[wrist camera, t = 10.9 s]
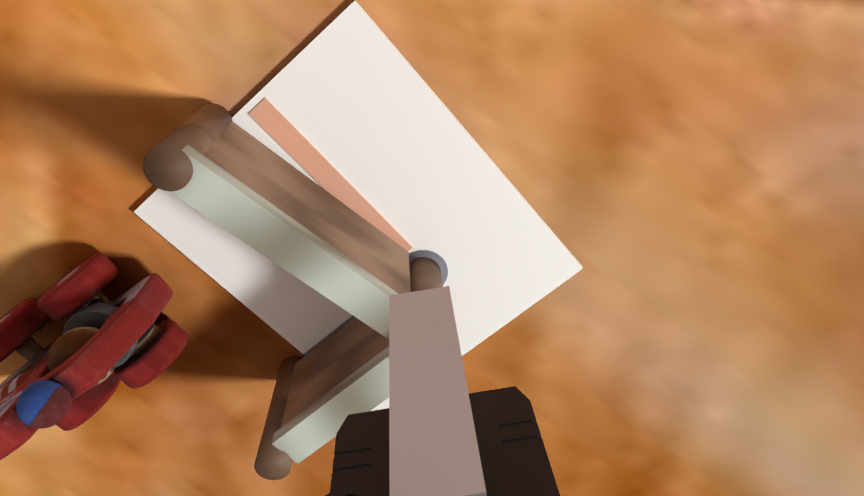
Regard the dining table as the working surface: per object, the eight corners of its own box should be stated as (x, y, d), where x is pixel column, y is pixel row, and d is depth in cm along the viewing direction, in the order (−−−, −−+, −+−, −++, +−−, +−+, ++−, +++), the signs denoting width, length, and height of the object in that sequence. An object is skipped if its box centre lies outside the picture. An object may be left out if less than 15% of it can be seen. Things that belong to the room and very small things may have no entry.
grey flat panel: (412, 248, 35) (416, 318, 28) (391, 270, 35) (391, 344, 29) (208, 95, 30) (158, 137, 24) (188, 123, 31) (134, 172, 25)
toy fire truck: (221, 310, 37) (164, 436, 27) (68, 408, 39) (-32, 555, 30) (134, 220, 34) (37, 327, 25) (-25, 332, 36) (-168, 467, 27)
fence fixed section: (296, 386, 39) (271, 502, 31) (272, 367, 39) (240, 480, 31) (447, 269, 36) (463, 364, 28) (424, 246, 36) (434, 336, 27)
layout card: (377, 412, 41) (377, 417, 40) (136, 209, 34) (132, 212, 33) (581, 265, 37) (583, 269, 36) (355, -1, 30) (354, 0, 29)
